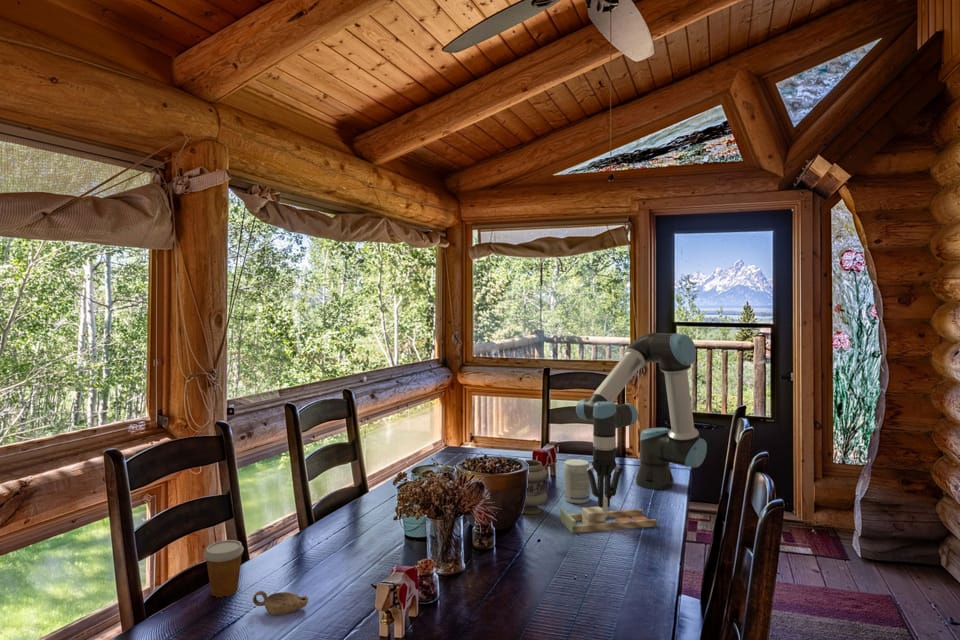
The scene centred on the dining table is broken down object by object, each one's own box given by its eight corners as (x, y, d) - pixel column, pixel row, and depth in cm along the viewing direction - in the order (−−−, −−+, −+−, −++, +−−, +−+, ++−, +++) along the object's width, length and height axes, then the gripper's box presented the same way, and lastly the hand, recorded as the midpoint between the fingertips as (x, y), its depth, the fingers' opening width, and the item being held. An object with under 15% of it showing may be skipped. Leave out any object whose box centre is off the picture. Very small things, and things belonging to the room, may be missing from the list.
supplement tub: (594, 500, 230) (594, 462, 229) (579, 506, 223) (579, 466, 223) (574, 494, 237) (574, 457, 236) (558, 500, 230) (559, 461, 230)
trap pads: (642, 515, 213) (642, 515, 213) (654, 524, 204) (654, 523, 204) (614, 518, 211) (614, 517, 211) (624, 526, 202) (624, 526, 202)
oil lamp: (311, 603, 151) (311, 583, 151) (303, 619, 144) (302, 598, 144) (259, 603, 151) (259, 584, 151) (248, 619, 144) (247, 598, 143)
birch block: (598, 520, 208) (598, 506, 208) (605, 527, 202) (605, 512, 202) (581, 522, 207) (582, 507, 207) (588, 528, 201) (588, 513, 201)
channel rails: (641, 514, 214) (641, 508, 214) (656, 526, 203) (656, 520, 203) (560, 520, 208) (561, 514, 208) (572, 532, 197) (572, 526, 197)
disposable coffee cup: (232, 580, 164) (232, 536, 163) (251, 590, 158) (250, 545, 157) (197, 593, 156) (197, 547, 156) (215, 604, 150) (215, 557, 150)
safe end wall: (563, 520, 209) (563, 508, 208) (575, 532, 197) (575, 520, 197) (560, 520, 208) (560, 509, 208) (571, 532, 197) (571, 520, 197)
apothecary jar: (508, 514, 214) (508, 464, 214) (521, 504, 225) (521, 456, 224) (539, 520, 209) (539, 468, 208) (552, 509, 219) (552, 460, 219)
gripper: (617, 444, 210) (617, 511, 210) (582, 446, 207) (581, 513, 208) (626, 449, 202) (626, 518, 203) (590, 451, 200) (590, 521, 200)
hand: (603, 516), depth 205 cm, fingers closed
